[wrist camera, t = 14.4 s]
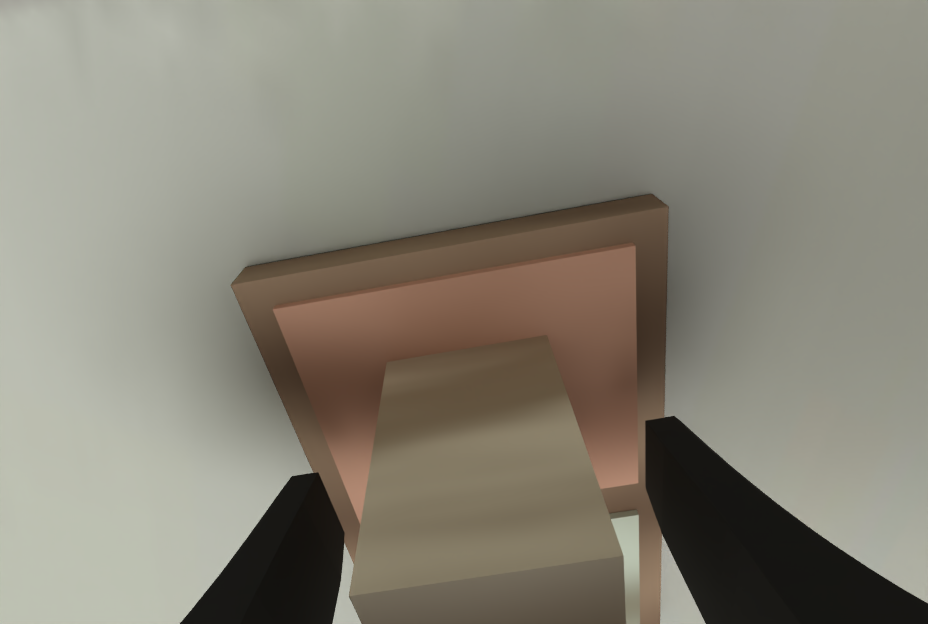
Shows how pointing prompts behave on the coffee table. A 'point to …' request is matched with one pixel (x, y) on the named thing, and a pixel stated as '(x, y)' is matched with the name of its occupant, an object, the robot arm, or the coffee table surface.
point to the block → (484, 498)
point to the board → (481, 343)
